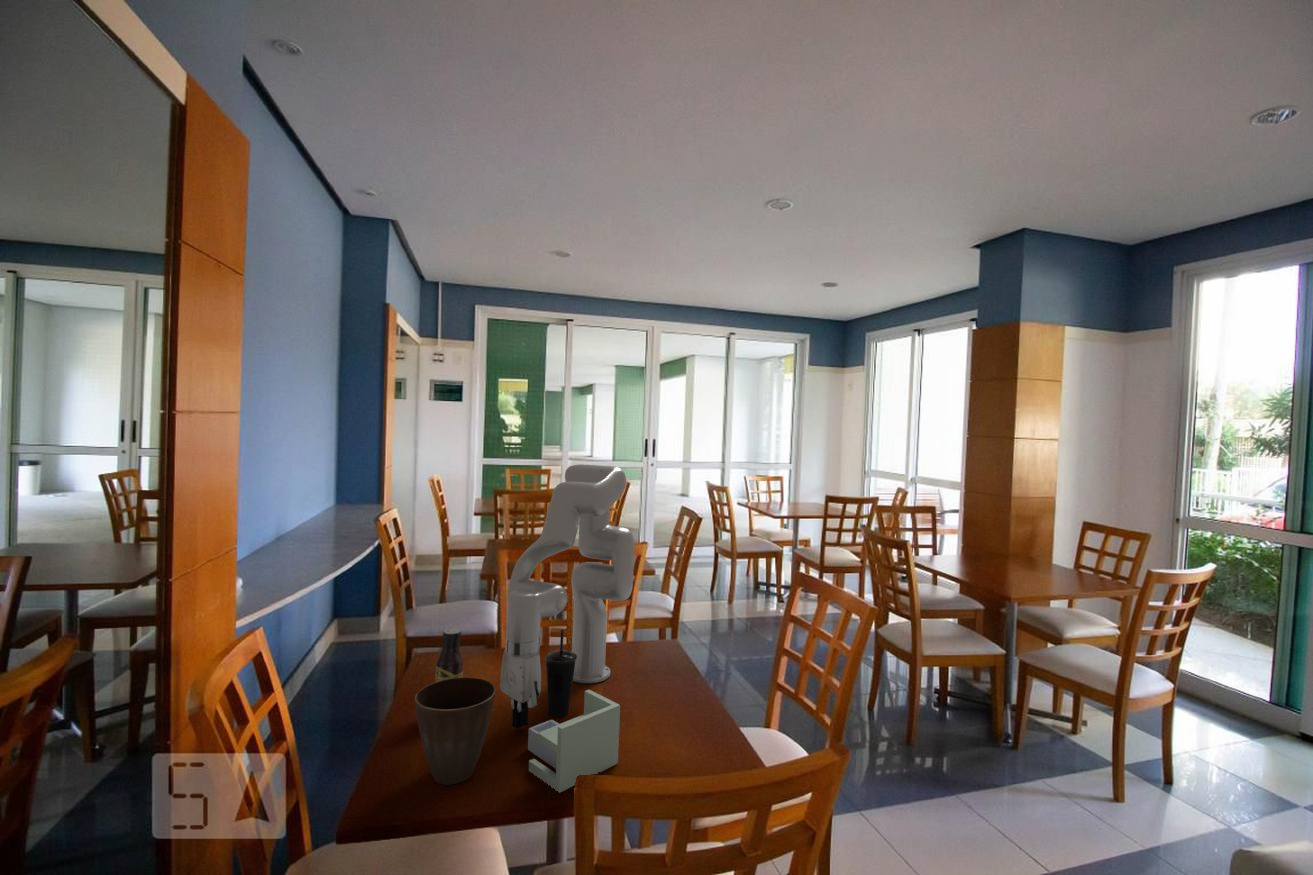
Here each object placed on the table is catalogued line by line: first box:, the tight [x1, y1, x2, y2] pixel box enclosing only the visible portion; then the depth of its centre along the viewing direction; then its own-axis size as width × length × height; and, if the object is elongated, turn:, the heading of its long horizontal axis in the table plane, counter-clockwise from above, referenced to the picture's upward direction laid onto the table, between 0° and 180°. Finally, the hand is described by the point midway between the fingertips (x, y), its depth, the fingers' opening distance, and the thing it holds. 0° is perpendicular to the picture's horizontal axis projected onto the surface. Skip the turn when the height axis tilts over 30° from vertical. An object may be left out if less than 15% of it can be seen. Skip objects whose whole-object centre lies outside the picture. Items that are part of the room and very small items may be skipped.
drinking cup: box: [544, 629, 577, 718], centre depth 142 cm, size 8×8×20 cm
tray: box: [527, 719, 560, 770], centre depth 122 cm, size 14×6×4 cm, turn 46°
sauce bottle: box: [434, 627, 464, 683], centre depth 139 cm, size 6×6×20 cm
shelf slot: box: [528, 689, 621, 794], centre depth 118 cm, size 10×15×12 cm, turn 136°
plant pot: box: [414, 676, 497, 786], centre depth 114 cm, size 15×15×16 cm
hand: (519, 725), depth 132 cm, fingers closed
